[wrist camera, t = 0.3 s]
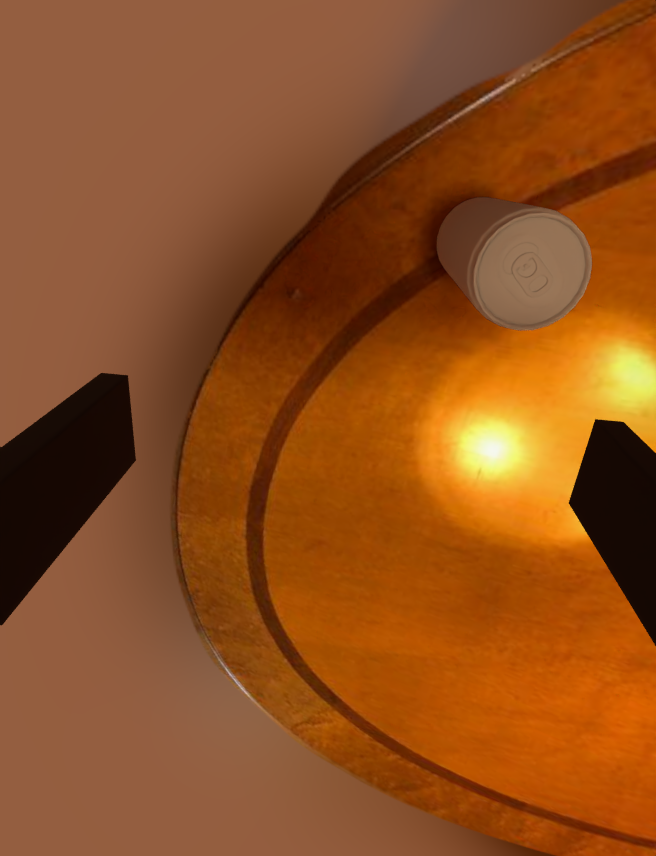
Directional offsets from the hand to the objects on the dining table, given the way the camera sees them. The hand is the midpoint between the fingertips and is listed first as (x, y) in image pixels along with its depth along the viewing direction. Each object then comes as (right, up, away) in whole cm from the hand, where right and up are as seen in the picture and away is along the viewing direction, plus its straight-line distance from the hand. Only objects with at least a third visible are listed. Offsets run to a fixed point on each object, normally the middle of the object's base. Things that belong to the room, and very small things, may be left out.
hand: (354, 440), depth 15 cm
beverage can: (+8, +12, +17) cm, 22 cm away
